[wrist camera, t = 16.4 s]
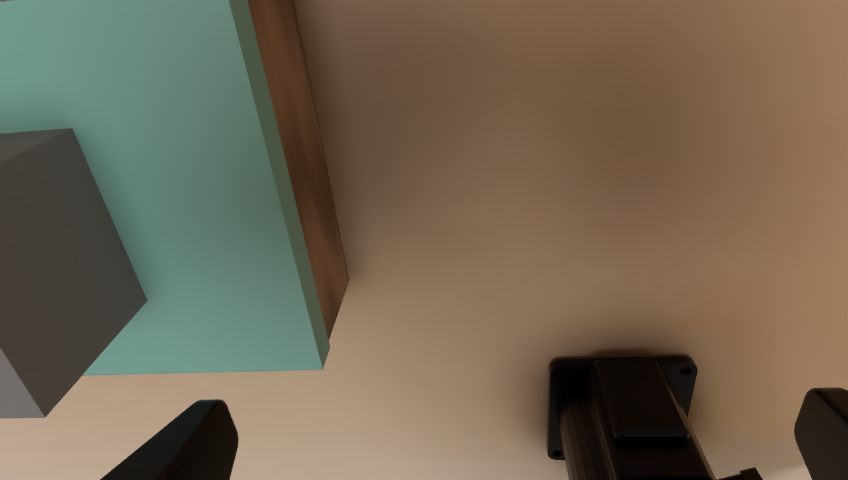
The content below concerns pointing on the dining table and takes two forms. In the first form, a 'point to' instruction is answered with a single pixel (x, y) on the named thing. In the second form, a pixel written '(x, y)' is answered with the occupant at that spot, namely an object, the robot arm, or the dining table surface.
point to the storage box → (302, 148)
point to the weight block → (55, 271)
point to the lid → (175, 174)
